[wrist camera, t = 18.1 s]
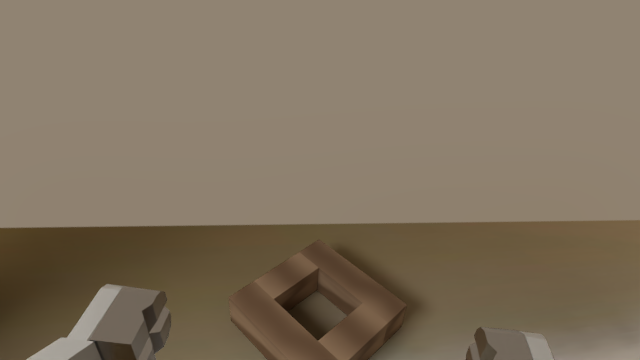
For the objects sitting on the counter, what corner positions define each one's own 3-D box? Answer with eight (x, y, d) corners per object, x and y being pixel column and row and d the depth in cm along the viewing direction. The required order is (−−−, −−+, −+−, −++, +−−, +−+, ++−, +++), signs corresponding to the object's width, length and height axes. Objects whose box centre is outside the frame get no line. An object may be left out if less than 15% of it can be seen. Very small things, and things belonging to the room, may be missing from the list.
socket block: (315, 411, 40) (317, 389, 38) (230, 320, 48) (228, 297, 46) (401, 326, 48) (407, 304, 46) (317, 260, 56) (319, 239, 54)
